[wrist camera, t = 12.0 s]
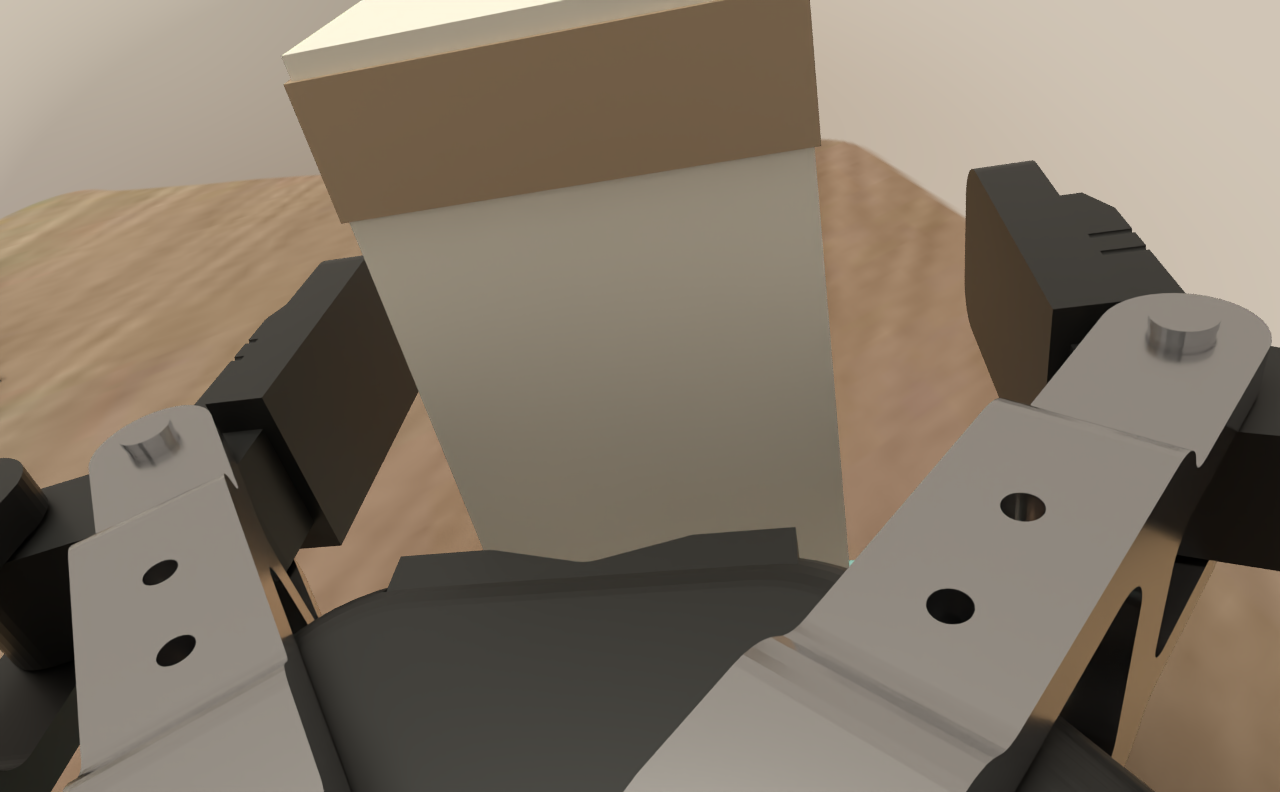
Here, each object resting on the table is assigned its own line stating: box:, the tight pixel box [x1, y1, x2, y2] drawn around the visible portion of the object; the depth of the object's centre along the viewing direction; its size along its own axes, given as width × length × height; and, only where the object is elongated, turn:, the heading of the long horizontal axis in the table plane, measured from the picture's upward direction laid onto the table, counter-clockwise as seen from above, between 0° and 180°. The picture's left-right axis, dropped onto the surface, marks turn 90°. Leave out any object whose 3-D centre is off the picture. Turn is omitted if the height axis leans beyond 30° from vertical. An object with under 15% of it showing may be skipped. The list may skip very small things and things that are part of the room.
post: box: [282, 0, 849, 568], centre depth 12 cm, size 4×4×14 cm
